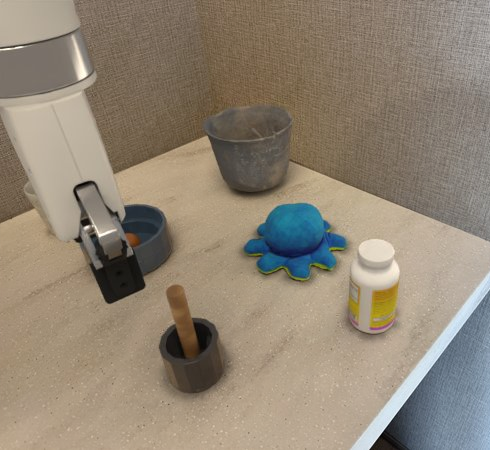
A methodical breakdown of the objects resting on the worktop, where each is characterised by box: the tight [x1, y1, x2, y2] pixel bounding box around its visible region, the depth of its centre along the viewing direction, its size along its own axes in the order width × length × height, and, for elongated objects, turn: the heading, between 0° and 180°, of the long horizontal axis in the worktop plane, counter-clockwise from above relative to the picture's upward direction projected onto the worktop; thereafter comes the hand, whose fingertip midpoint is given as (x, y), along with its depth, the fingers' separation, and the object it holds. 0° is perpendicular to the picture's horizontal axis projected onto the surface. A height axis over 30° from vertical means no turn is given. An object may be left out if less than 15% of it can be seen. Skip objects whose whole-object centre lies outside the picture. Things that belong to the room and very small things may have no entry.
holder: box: [158, 317, 225, 394], centre depth 57 cm, size 7×7×6 cm
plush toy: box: [243, 202, 348, 282], centre depth 76 cm, size 17×17×8 cm
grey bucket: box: [202, 104, 295, 193], centre depth 91 cm, size 18×18×15 cm
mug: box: [23, 180, 56, 236], centre depth 82 cm, size 8×13×10 cm, turn 40°
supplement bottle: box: [348, 238, 401, 335], centre depth 61 cm, size 7×7×13 cm
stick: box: [165, 284, 201, 359], centre depth 54 cm, size 2×2×14 cm
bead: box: [125, 233, 141, 248], centre depth 76 cm, size 4×4×4 cm
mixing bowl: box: [78, 203, 173, 275], centre depth 77 cm, size 14×14×6 cm
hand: (108, 262), depth 39 cm, fingers open, 9 cm apart
